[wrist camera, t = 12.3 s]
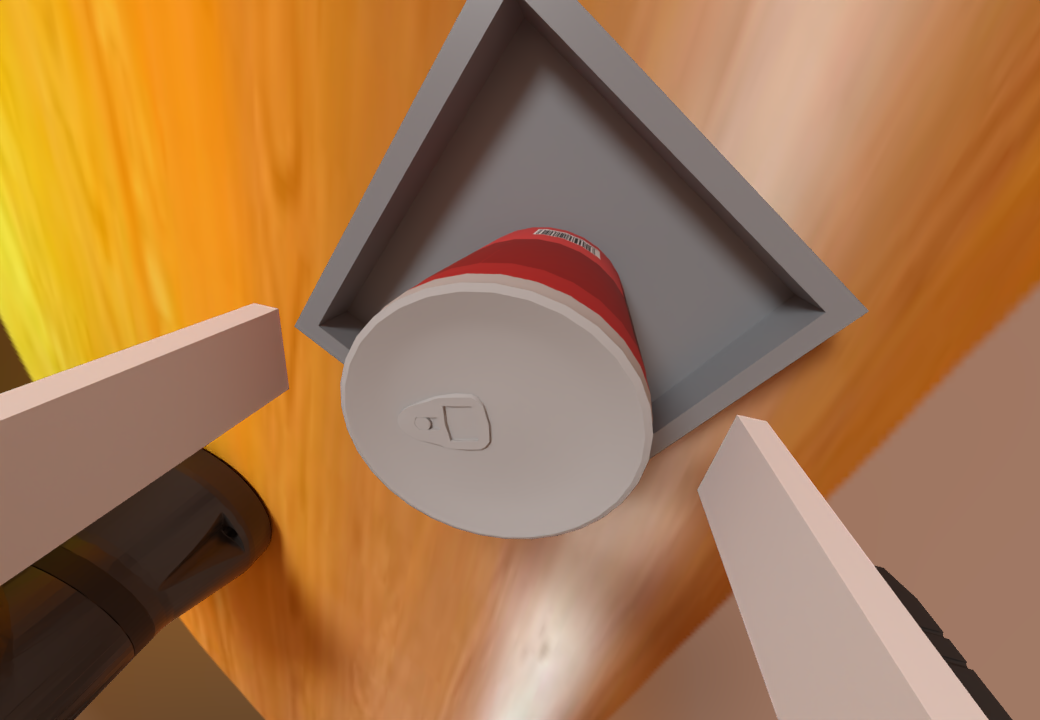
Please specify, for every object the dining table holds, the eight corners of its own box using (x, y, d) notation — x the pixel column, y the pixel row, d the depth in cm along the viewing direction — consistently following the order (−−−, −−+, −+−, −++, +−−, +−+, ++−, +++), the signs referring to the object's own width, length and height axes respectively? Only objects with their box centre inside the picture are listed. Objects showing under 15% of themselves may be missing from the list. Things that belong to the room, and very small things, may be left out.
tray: (336, 306, 22) (294, 326, 19) (526, -20, 14) (506, -75, 11) (557, 481, 25) (552, 524, 22) (819, 287, 17) (868, 311, 14)
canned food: (443, 259, 19) (278, 342, 9) (596, 195, 16) (597, 215, 7) (501, 386, 21) (422, 556, 12) (642, 348, 19) (690, 524, 9)
